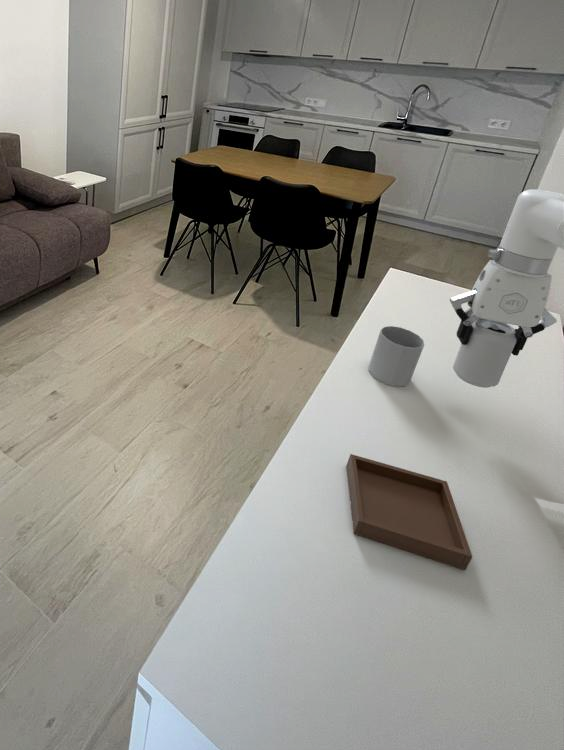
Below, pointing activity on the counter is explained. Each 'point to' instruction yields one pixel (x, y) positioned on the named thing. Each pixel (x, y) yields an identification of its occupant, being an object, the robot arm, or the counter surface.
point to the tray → (406, 511)
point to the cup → (395, 356)
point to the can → (485, 353)
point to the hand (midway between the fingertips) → (486, 345)
